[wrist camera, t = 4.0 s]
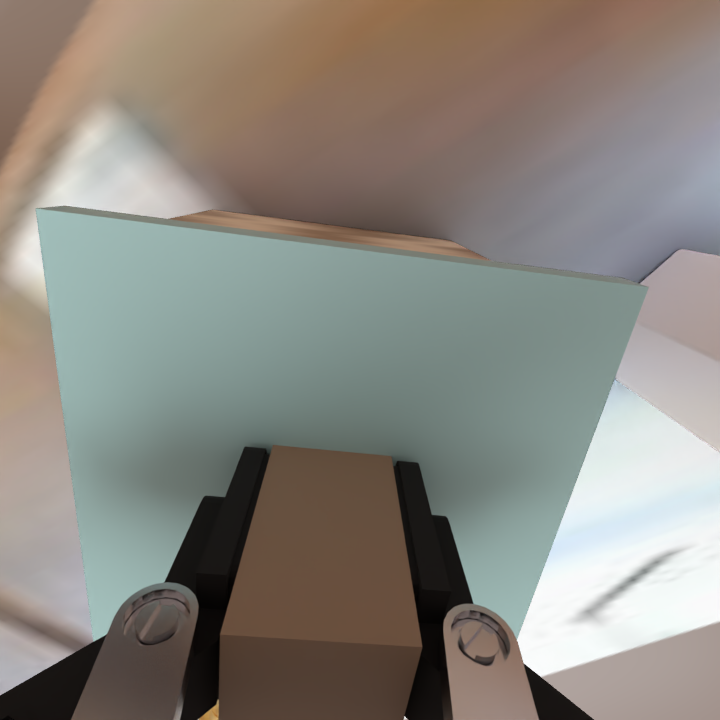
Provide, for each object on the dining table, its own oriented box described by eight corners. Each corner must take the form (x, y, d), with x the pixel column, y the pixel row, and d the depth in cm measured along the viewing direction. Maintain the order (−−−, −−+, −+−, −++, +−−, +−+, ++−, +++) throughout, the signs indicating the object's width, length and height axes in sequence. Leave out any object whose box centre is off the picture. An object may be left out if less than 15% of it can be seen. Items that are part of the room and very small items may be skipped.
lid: (591, 267, 12) (917, 382, 5) (482, 606, 17) (576, 904, 10) (100, 202, 11) (-303, 238, 4) (131, 582, 16) (-35, 891, 9)
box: (450, 240, 23) (495, 263, 16) (411, 440, 27) (434, 521, 21) (213, 209, 22) (160, 220, 15) (211, 423, 26) (169, 502, 20)
